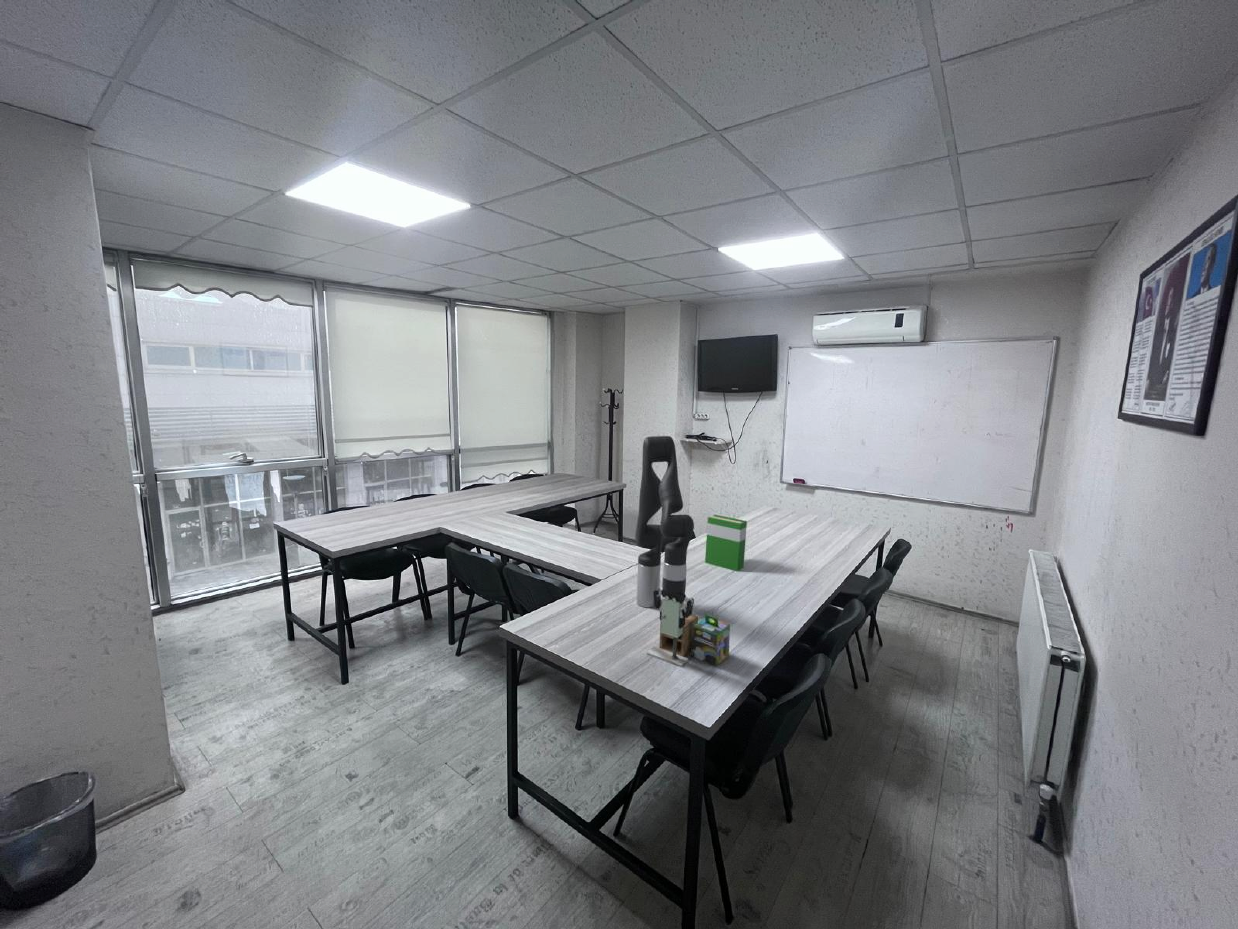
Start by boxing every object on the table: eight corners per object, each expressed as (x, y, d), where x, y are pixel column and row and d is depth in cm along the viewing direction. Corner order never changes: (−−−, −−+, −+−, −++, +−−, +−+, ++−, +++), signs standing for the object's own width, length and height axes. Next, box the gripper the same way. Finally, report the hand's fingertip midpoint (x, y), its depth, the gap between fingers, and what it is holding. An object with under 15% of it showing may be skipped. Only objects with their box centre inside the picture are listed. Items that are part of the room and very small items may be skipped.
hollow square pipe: (666, 628, 165) (667, 594, 163) (682, 633, 161) (684, 599, 160) (659, 633, 161) (661, 598, 159) (675, 639, 158) (677, 603, 156)
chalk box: (729, 656, 165) (732, 614, 163) (715, 667, 158) (718, 624, 156) (705, 646, 171) (707, 606, 169) (691, 657, 164) (693, 615, 162)
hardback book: (705, 562, 253) (707, 517, 249) (711, 559, 258) (714, 514, 255) (737, 571, 242) (740, 524, 238) (743, 567, 248) (746, 521, 244)
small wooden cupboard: (668, 636, 177) (669, 607, 176) (701, 647, 170) (703, 617, 168) (646, 654, 165) (648, 623, 163) (681, 667, 158) (683, 635, 156)
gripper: (700, 577, 158) (697, 626, 160) (660, 567, 166) (658, 614, 168) (689, 584, 152) (686, 635, 154) (649, 573, 159) (647, 622, 162)
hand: (671, 624), depth 161 cm, fingers closed on hollow square pipe, 6 cm apart
